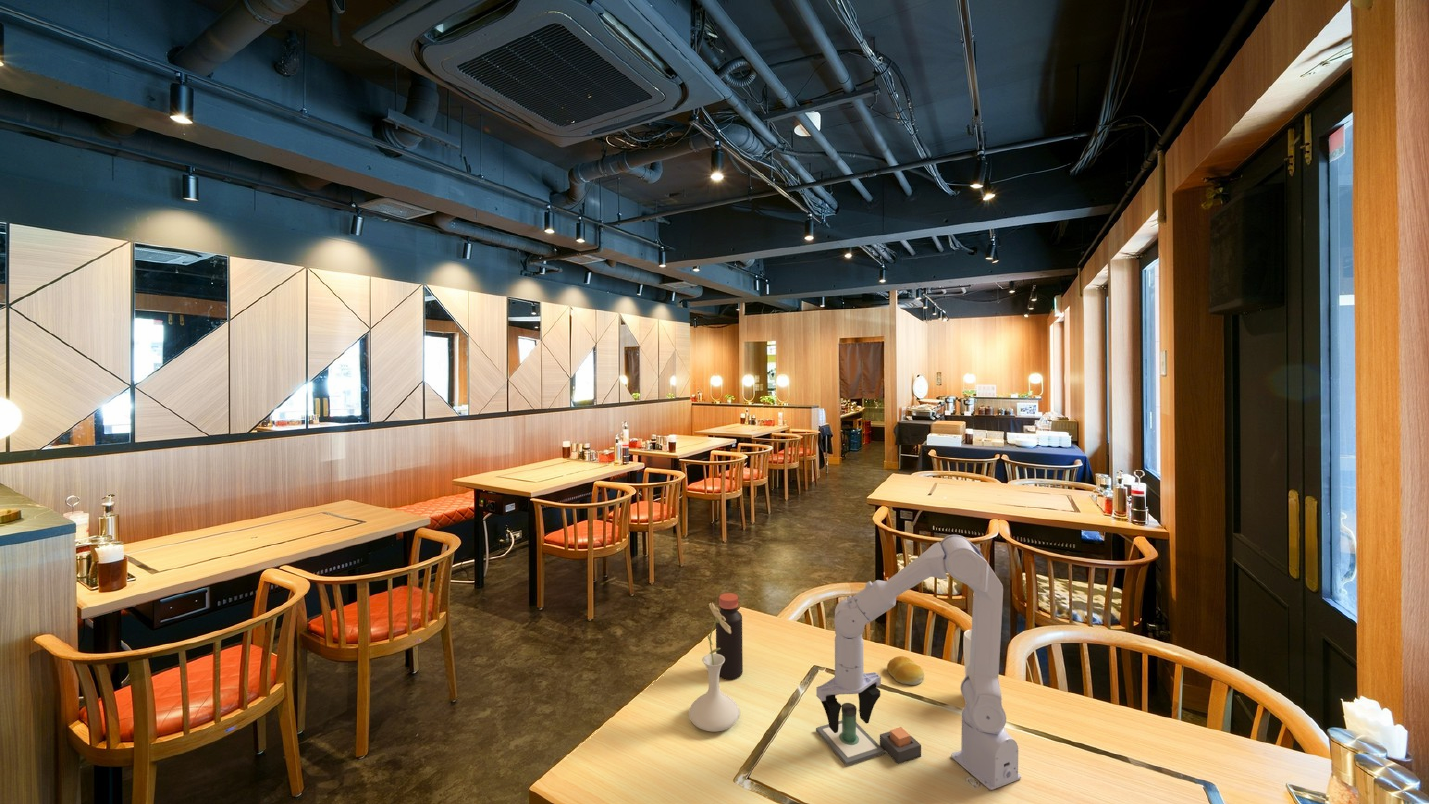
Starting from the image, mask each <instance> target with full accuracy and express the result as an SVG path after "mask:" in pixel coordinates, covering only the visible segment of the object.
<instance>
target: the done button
mask: <svg viewBox="0 0 1429 804" xmlns="http://www.w3.org/2000/svg"><path fill="white" fill-rule="evenodd" d="M889 731H890V740H892V741H893V742H894V743H895V744H896V745H897V746H898V747H899V748H900V747H903V746H906V745H909V744H911V736H912V735H911V734H909V732H907V731H906V730H905V729H904V728H903V727H902V726H899V727H896V728H894V729H893V728H892V729H890V730H889Z"/></svg>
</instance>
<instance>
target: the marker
mask: <svg viewBox="0 0 1429 804" xmlns="http://www.w3.org/2000/svg"><path fill="white" fill-rule="evenodd" d="M841 706H842V707H841V720H842V738H843V740H844V741H846V742H854V741H855V740H856V723H857V714H858V713H857V712H858V710H857V709H858V708H857V706H856V704H854V703H851V702H844V703H842V704H841Z"/></svg>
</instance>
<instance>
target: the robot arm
mask: <svg viewBox="0 0 1429 804" xmlns="http://www.w3.org/2000/svg"><path fill="white" fill-rule="evenodd" d="M947 574H949V576H951V578H953V579H955V580H957V582H961V583H963V584H965V585H967V586H968V588H970V589H971V590H972V591H973V594H972V595H973V596H972V599H973V600H972V613H971V614H972V617H971V618H972V619H971V630H972V632H971V651H970V665H969V666H968V667H967V673H966V676H965V677H964V678H963V679H962V681H961V684H960V693H961V695H962V697H963V698H964V702H965V705H964V707H963V709H962V711H961V744H960V745H961V747H960V748H961V750H958V751H955V752H953V753H951V754H950V757H951V758H952V759H953V760H954V761H955V762H957V764H959V765H960V766H961V767H962V768H964V769H965V770H966V771H967V772H968V773H970V774H971V776H973V777H974V778H975V779H976V780H977V781H979V783H981V784H983V785H984V786H985V787H986V788H987V789H988V790H990V791H994V790H996V789H998V788H1001V787H1003V786H1006V785H1008V784H1011V783H1013V782H1016V781H1019V780H1021V779H1022V775H1021V774H1020V773H1019V745H1018V743H1017V741H1016V740H1015V739H1014V738H1013V737H1012V736H1011V735H1010V734H1009V733H1008V731H1007V730H1006V727H1005V726H1006V723H1007V715H1006V712H1005V710H1004V708H1003V705H1002V703H1003V702H1002V700H1003V698H1002V692H1001V686H1000V685H1001V684H1000V680H999V675H1000V673H999V672H1000V655H1001V654H1000V653H1001V639H1002V638H1001V637H1002V636H1001V635H1002V634H1001V633H1002V616H1003V602H1004V601H1003V599H1004V586H1003V584H1002V582H1001V580H1000V579H999V577H998V576H997V575H996V573H995V572H994V570H993V569H992V567H991V566H990V564H989V562H988V561H987V560H986V559H985V557H984V555H983V553H981V551H980V550H979V548H978V547H977V546H976V545H975V544H974V543H972V542H971V541H970V540H969V539H967V538H966V537H964V536H963V535H959V534H950V535H947V536H945V537H944V538H942V539H941V541H940V542H939V541H937V542H935V543H933V544H932V545H931V546H929V547H928V549H926V550H925V551H924V552H923V553H921V554H920V555H919V556H918V557H916V558H915V559H914V560H912V561H911V562H909V563H908V564H907V565H905V567H903V568H902V569H900V570H899V571H897V573H895V574H894V575H892V576H891V577H890V578H889V579H887V580H880V579H877V580H875V581H873V582H872V581H871V580H869V581H867V582H866V583H865V587H864V588H863V589H862V590H860V591H859V592H857V593H856V594H854V595H853V596H852V595H848V597H846V599H843V600H841V601H839V602H838V603H837V604H836V607H835V609H834V620H833V622H834V627H835V628H834V629H835V630H834V631H835V632H834V633H835V636H834V677H832V678H831V679H829V680H827V682H825V683H823V684H821V685H820V686H819V685H818V686H817V687H816V695H815V696H816V697H817V699H819V701H820V702H821V704H822V706H823V710H824V712H825V714H826V715H825V716H826V718H827V722H828V724H829V728H830V729H831V730H832V731H833V732H834V733H837V732H838V726H839V721H840V719H839V718H840V712H841V710H842V704H841V703H839V701H838V699H837V696H839V695H857V694H858V695H857V696H858V703H859V704H858V705H859V706H858V707H859V708H858V709H859V712H858V713H859V718H860V720H862V721H863V722H864V723H865V724H869V723H870V719H871V715H872V713H873V710H874V707H875V705H876V703H877V702H878V700H879V699H880V697H881V690H880V689H879V688H878V687H880V686H881V685H882V683H881V682H882V677H881V676H880V675H879V674H878V673H877V672H876V671H873V672H864V639H863V633H864V630H865V627H866V625H867V624H870V623H872V622H873V621H875V620H876V619H877V618H879V617H880V616H882V615H883V614H885V613H886V612H888V611H890V610H891V609H892V608H894V607H896V605H897V604H896V603H897V597H898V596H900V595H902V594H903V593H905V592H906V591H908V590H910V589H913V588H914V587H915V586H918V585H919V584H920V583H923V581H925V580H927V579H929V578H931V577H932V578H938V579H941V580H948V579H949V578H948V575H947Z"/></svg>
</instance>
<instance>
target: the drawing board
mask: <svg viewBox="0 0 1429 804" xmlns="http://www.w3.org/2000/svg"><path fill="white" fill-rule="evenodd" d="M815 732H816V733H817V734H818V735H819V737H820V738H821V739H822V740H823V741H824V743H826V745H827V746H828V747H829V748H830V750H832V752H833V753H834V754H835V755H836V756H837V757H838V758H839V760H840V761H841V762H842V763H843V764H844V765H845V767H850V766H853V765H857V764H859V763H862V762H864V761H868V760H871V759H874V758H876V757H880V756H884V755H885V751H884V749H883V748H882V747H881V746H880V744H879V743H878V742H876V741H875V739H874V738H872V737H871V735H869V734H868V733H867V731H866V730H865V729H864V728H862V726H860V725H859V723H857V722H856V740H855V741H854V742H846V741H844V740H843V738H842V719H841V720H839V726H838V732H837V733H834V732H833V731H832V730H831V729H830V728H829V723H828V724H824V725H820V726H818V727H815Z"/></svg>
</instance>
